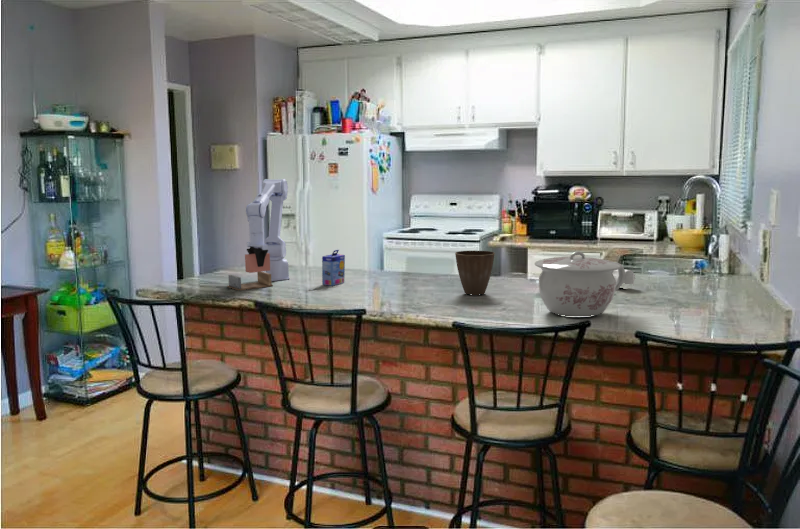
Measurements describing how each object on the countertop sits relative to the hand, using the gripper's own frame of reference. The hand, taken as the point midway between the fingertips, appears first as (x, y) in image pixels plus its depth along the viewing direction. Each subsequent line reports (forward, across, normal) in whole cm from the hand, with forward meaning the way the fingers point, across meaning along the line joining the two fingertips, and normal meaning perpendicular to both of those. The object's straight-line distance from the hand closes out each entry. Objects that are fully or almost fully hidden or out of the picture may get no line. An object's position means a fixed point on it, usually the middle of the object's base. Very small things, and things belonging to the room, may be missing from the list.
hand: (257, 265), depth 263 cm
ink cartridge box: (+9, +14, +28) cm, 32 cm away
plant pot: (+9, +68, +56) cm, 89 cm away
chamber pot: (+9, +114, +57) cm, 128 cm away
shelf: (+9, -4, -2) cm, 10 cm away
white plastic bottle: (+9, +94, +108) cm, 143 cm away
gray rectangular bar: (+9, -4, -9) cm, 13 cm away
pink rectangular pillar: (+2, 0, 0) cm, 2 cm away
